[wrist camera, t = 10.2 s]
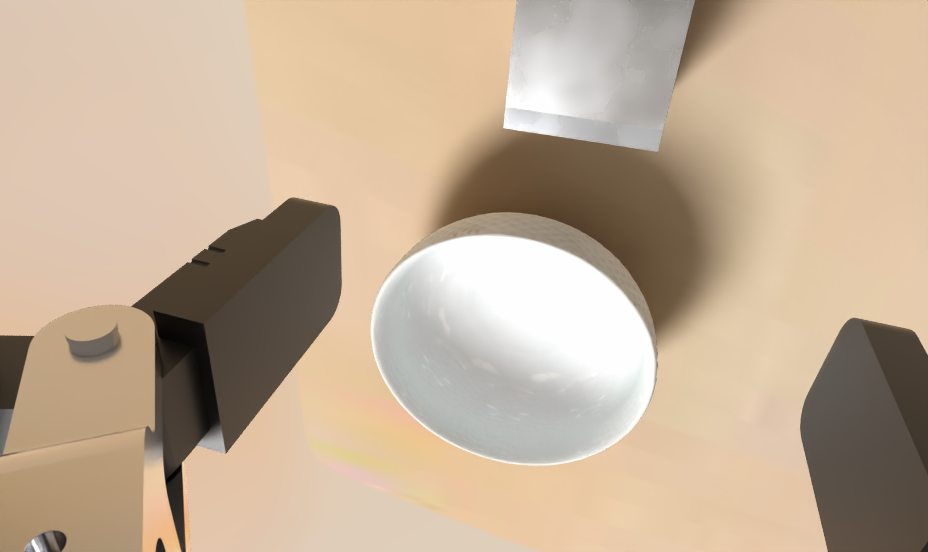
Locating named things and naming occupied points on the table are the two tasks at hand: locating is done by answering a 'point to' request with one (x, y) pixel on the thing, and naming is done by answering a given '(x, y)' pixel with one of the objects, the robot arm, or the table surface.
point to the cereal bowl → (516, 339)
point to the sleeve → (595, 68)
